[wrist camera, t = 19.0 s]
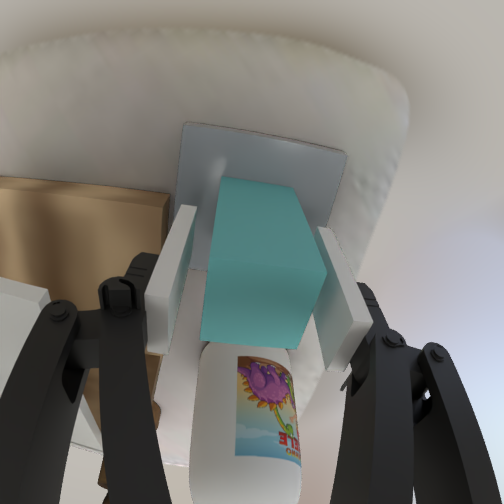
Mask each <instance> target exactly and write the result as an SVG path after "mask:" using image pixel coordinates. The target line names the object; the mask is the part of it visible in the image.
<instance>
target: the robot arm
mask: <svg viewBox="0 0 504 504" xmlns="http://www.w3.org/2000/svg"><path fill="white" fill-rule="evenodd" d="M196 213H197V206H190V205H183V204H181V207H180V209H179V211H178V213H177V216H176V218H175V220H174V222H173V225H172V227H171V229H170V232H169V234H168V236H167V239H166V241H165V244H164V246H163V248H162V251H161V253H160V255H158V254H152V253H145V252H141V253H139V254H138V255H137V256H135V257H134V258H133V259H132V261H131V263H130V265H129V268H128V269H127V271H126V274H125V275H124V277H122V276H117V277H111V278H109V279H106V280H104V281H103V282H102V283H101V284H100V285H99V288H98V296H99V303H100V309H96V310H85V311H78V310H77V307H76V305H75V304H73V303H72V302H71V301H68V300H60V299H59V300H55V301H52V302H50V303H48V304H47V305H45V307H44V308H43V309H42V311H41V312H40V314H39V316H38V318H37V320H36V322H35V324H34V325H33V327H32V329H31V331H30V333H29V335H28V337H27V339H26V341H25V343H24V345H23V347H22V349H21V351H20V354H19V356H18V358H17V360H16V362H15V364H14V367H13V369H12V371H11V373H10V376H9V378H8V380H7V383H6V385H5V387H4V390H3V392H2V395H1V397H0V504H59V501H60V494H61V488H62V482H63V477H64V471H65V466H66V461H67V456H68V451H69V446H70V442H71V438H72V434H73V429H74V425H75V421H76V417H77V413H78V410H79V406H80V402H81V398H82V395H83V391H84V388H85V384H86V381H87V378H88V374H89V371H90V369H91V368H99V402H100V422H101V436H102V447H103V457H104V466H105V474H106V481H107V488H108V494H109V501H110V504H172V502H171V498H170V494H169V490H168V486H167V482H166V477H165V474H164V469H163V464H162V459H161V454H160V449H159V444H158V439H157V434H156V428H155V423H154V417H153V410H152V404H151V397H150V391H149V383H148V376H147V368H146V359H145V349H146V345H147V351H148V352H153V353H159V354H164V355H168V353H169V349H170V344H171V340H172V335H173V331H174V326H175V322H176V318H177V313H178V309H179V305H180V301H181V296H182V292H183V288H184V284H185V280H186V276H187V272H188V268H189V264H190V260H191V256H192V249H193V239H194V230H195V221H196ZM314 239H315V242H316V244H317V247H318V250H319V252H320V255H321V257H322V260H323V262H324V265H325V267H326V270H327V275H326V278H325V280H324V283H323V286H322V288H321V291H320V293H319V296H318V298H317V301H316V303H315V306H314V308H313V316H314V320H315V324H316V329H317V333H318V337H319V342H320V346H321V351H322V355H323V360H324V365H325V369H326V371H334V372H344V371H345V369H346V367H347V366H348V364H349V363H350V364H351V368H352V372H351V373H350V375H349V376H348V378H347V379H346V381H345V382H344V384H343V385H342V387H341V389H340V390H341V391H343V390H344V388H345V387H346V386H347V391H346V401H345V411H344V418H343V426H342V434H341V441H340V448H339V455H338V461H337V467H336V474H335V479H334V484H333V490H332V495H331V500H330V504H412V501H413V487H414V492H415V498H416V504H502V501H501V497H500V493H499V489H498V485H497V481H496V478H495V474H494V470H493V467H492V464H491V460H490V457H489V454H488V451H487V448H486V445H485V442H484V439H483V436H482V433H481V430H480V427H479V425H478V422H477V419H476V416H475V414H474V411H473V408H472V406H471V403H470V401H469V398H468V396H467V393H466V391H465V388H464V386H463V384H462V381H461V379H460V377H459V374H458V372H457V370H456V368H455V366H454V363H453V361H452V359H451V357H450V355H449V353H448V351H447V350H446V349H445V348H444V347H443V346H441V345H439V344H438V343H433V342H430V343H427V344H426V345H425V346H424V347H423V349H422V350H420V349H417V348H413V347H410V346H407V344H406V342H405V340H404V338H403V337H402V335H401V334H399V333H398V332H397V331H395V330H392V329H389V327H388V324H387V322H386V320H385V317H384V315H383V313H382V311H381V309H380V308H379V304H378V302H377V301H376V298H375V296H374V294H373V292H372V290H371V289H370V288H369V287H368V286H367V285H366V284H365V283H359V282H356V280H355V278H354V276H353V274H352V271H351V269H350V267H349V265H348V263H347V261H346V258H345V256H344V254H343V252H342V250H341V248H340V246H339V243H338V241H337V239H336V237H335V235H334V233H333V231H332V229H330V228H324V227H319V226H317V229H316V232H315V235H314ZM427 390H429V393H430V397H429V398H428V399H426V397H425V393H426V392H427Z"/></svg>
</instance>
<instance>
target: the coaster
mask: <svg viewBox="0 0 504 504" xmlns="http://www.w3.org/2000/svg"><path fill="white" fill-rule="evenodd" d="M347 157H348V155H346V154H345V153H344V152H343V151H340V150H336V149H332V148H328V147H324V146H320V145H315V144H311V143H307V142H302V141H298V140H293V139H288V138H283V137H278V136H273V135H268V134H263V133H257V132H252V131H246V130H240V129H234V128H227V127H221V126H214V125H207V124H199V123H191V122H186V123H185V124H184V125H183V132H182V140H181V148H180V156H179V165H178V175H177V184H176V195H175V206H174V219H173V222H174V220H175V218H176V216H177V213H178V211H179V209H180V207H181V204H183V205H190V206H197V213H196V221H195V230H194V239H193V249H192V256H191V260H190V264H189V269H196V270H202V271H208V264H209V256H210V249H211V242H212V235H213V228H214V221H215V215H216V208H217V202H218V195H219V189H220V183H221V177H222V176H224V177H230V178H237V179H244V180H250V181H256V182H262V183H268V184H274V185H280V186H286V187H291V188H293V189H294V191H295V194H296V196H297V198H298V201H299V203H300V205H301V208H302V210H303V213H304V215H305V217H306V220H307V222H308V225H309V227H310V230H311V232H312V234H313V237H314V235H315V232H316V229H317V226H319V227H324V228H326V225H327V222H328V219H329V216H330V212H331V209H332V206H333V203H334V200H335V197H336V193H337V190H338V187H339V184H340V180H341V177H342V174H343V170H344V167H345V163H346V160H347Z"/></svg>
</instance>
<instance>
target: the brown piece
mask: <svg viewBox="0 0 504 504" xmlns="http://www.w3.org/2000/svg"><path fill="white" fill-rule="evenodd" d="M169 203H170V194H166V193H159V192H151V191H143V190H135V189H127V188H118V187H110V186H101V185H92V184H82V183H72V182H62V181H51V180H39V179H27V178H14V177H0V277H3V278H6V279H10V280H14V281H18V282H21V283H25V284H29V285H33V286H37V287H41V288H45V289H48V292H49V296H50V300H51V302H52V301H55V300H59V299H60V300H68V301H71V302H72V303H73V304H75V305H76V307H77V310H78V311H85V310H96V309H100V303H99V296H98V288H99V285H100V284H101V283H102V282H103V281H104V280H106V279H109V278H111V277H117V276H122V277H124V275H125V274H126V271H127V269H128V268H129V265H130V263H131V261H132V259H133V258H134V257H135V256H137V255H138V254H139V253H141V252H145V253H152V254H158V255H160V253H161V251H162V248H163V246H164V244H165V241H166V239H167V232H168V216H169ZM162 357H163V354H159V353H153V352H148V351H147V345H146V349H145V359H146V368H147V376H148V383H149V391H150V397H151V404H153V399H154V394H155V389H156V384H157V380H158V375H159V371H160V366H161V362H162ZM83 395H84V397H85V400H86V402H87V404H88V406H89V409H90V411H91V413H92V415H93V417H94V419H95V421H96V424H97V426H98V428H99V430H100V432H101V422H100V402H99V368H91V369H90V371H89V374H88V378H87V381H86V384H85V388H84V391H83Z"/></svg>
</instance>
